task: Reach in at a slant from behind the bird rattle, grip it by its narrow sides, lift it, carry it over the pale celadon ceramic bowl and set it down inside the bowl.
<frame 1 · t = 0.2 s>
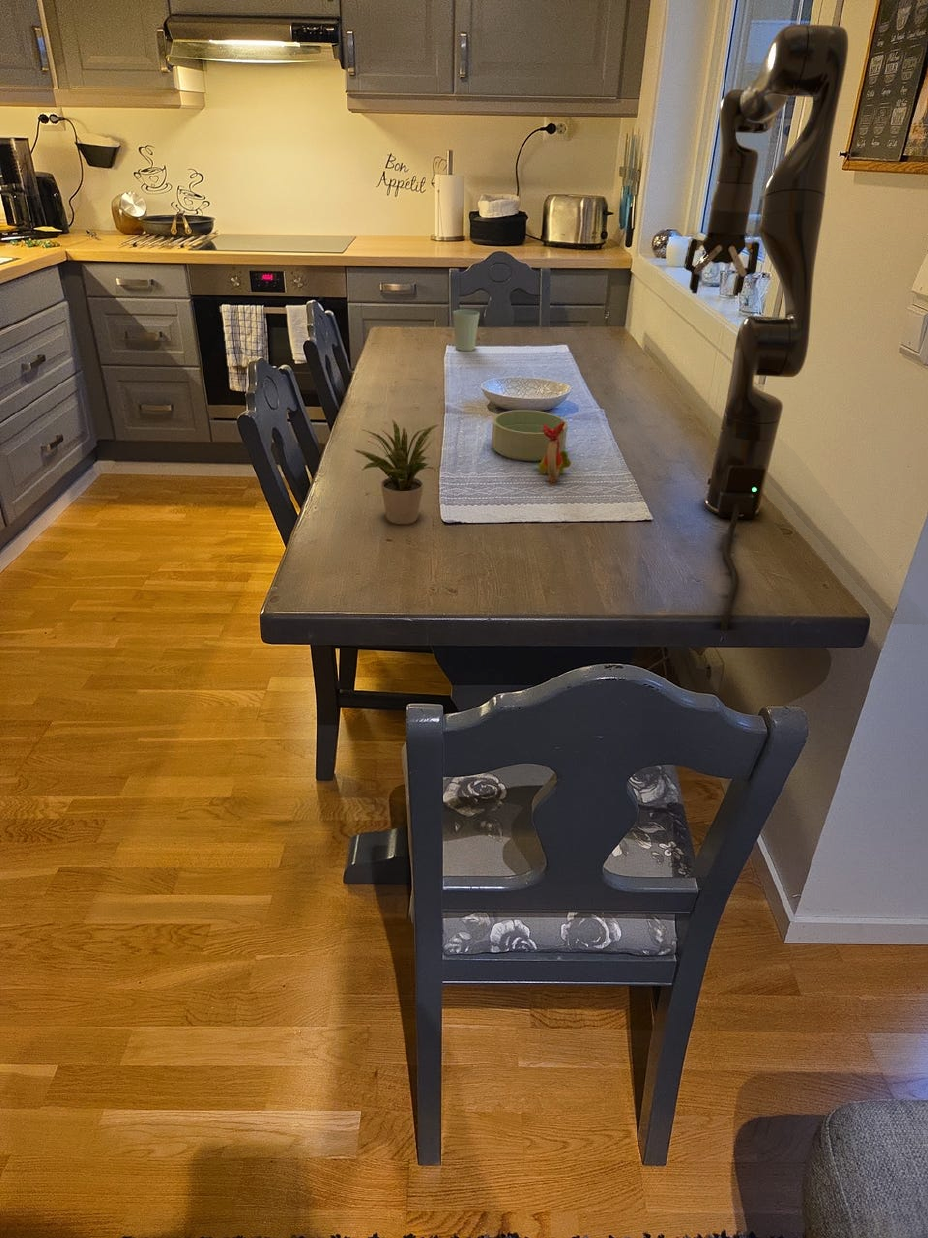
hand: (714, 293, 175), 29 cm above the table, tool pointing down, fingers open, 8 cm apart
cup: (464, 349, 248), on the table
bowl: (527, 449, 174), on the table
bird rattle: (553, 478, 161), on the table
house plant: (404, 515, 143), on the table
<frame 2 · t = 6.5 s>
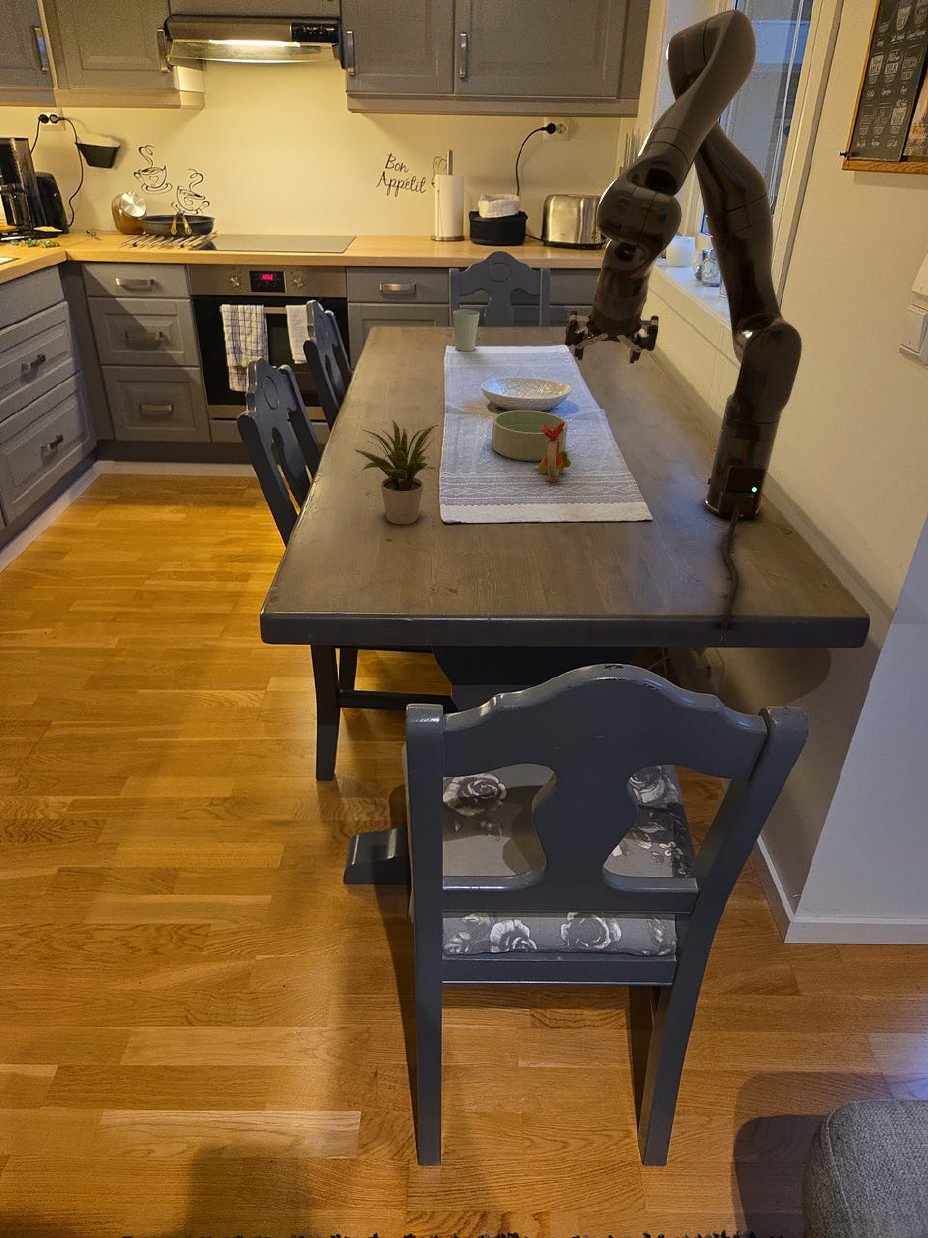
hand: (605, 357, 139), 26 cm above the table, tool tilted 45°, fingers open, 8 cm apart
nothing on the table moved.
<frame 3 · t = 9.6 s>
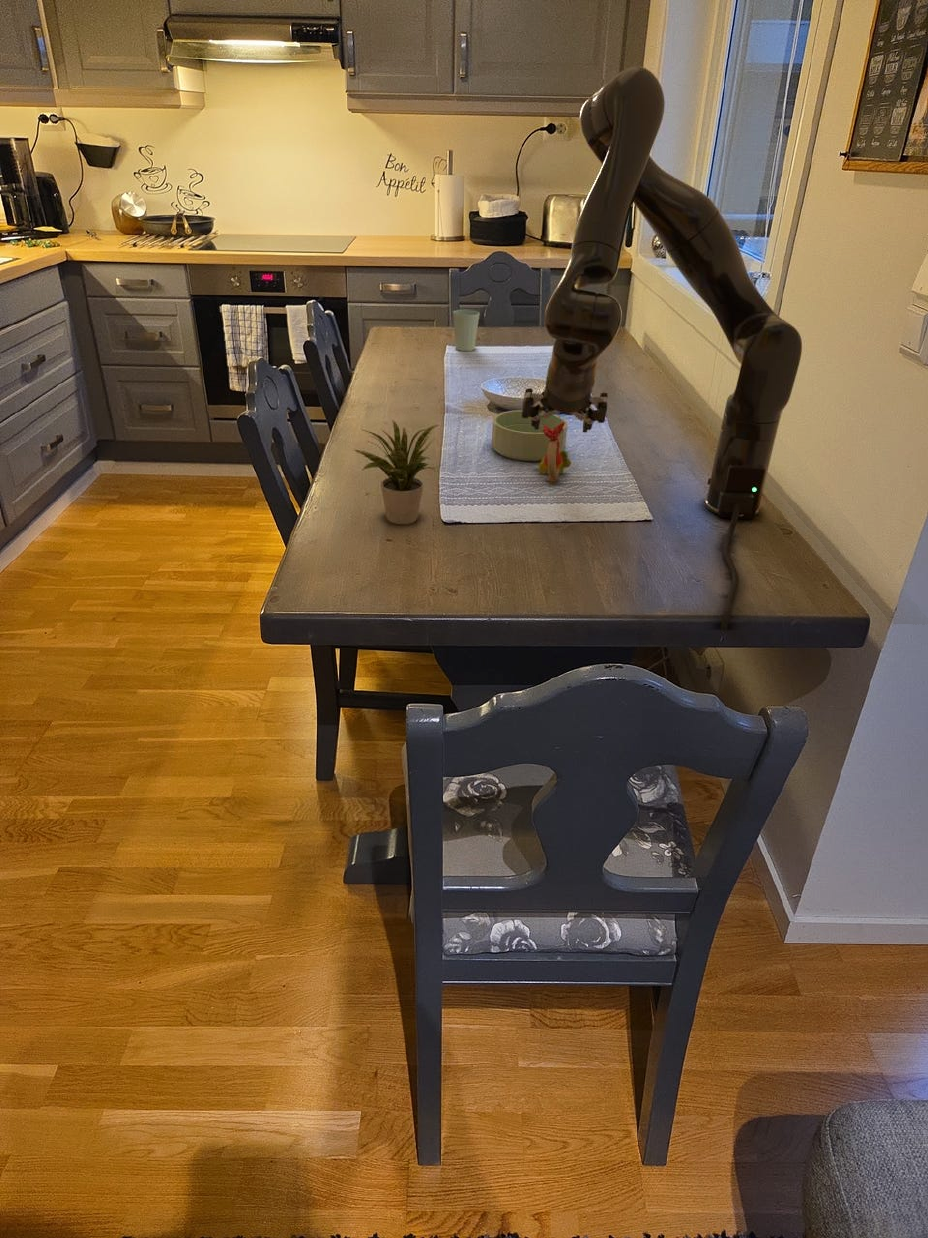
hand: (560, 426, 149), 12 cm above the table, tool tilted 45°, fingers open, 8 cm apart
nothing on the table moved.
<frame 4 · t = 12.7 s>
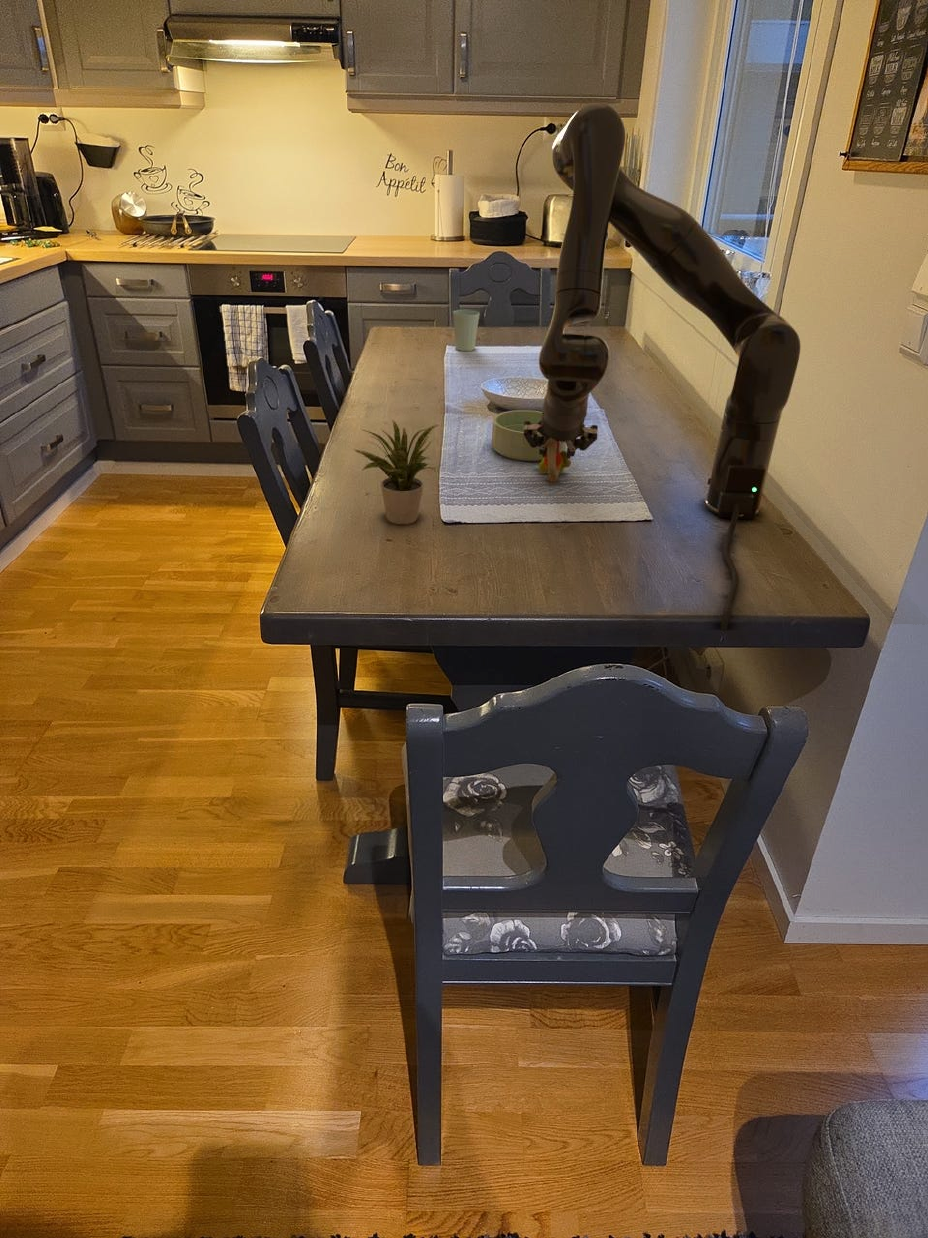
hand: (556, 453, 160), 4 cm above the table, tool tilted 45°, fingers closed on bird rattle, 4 cm apart
bird rattle: (553, 478, 161), on the table, touching gripper
everything else where it was.
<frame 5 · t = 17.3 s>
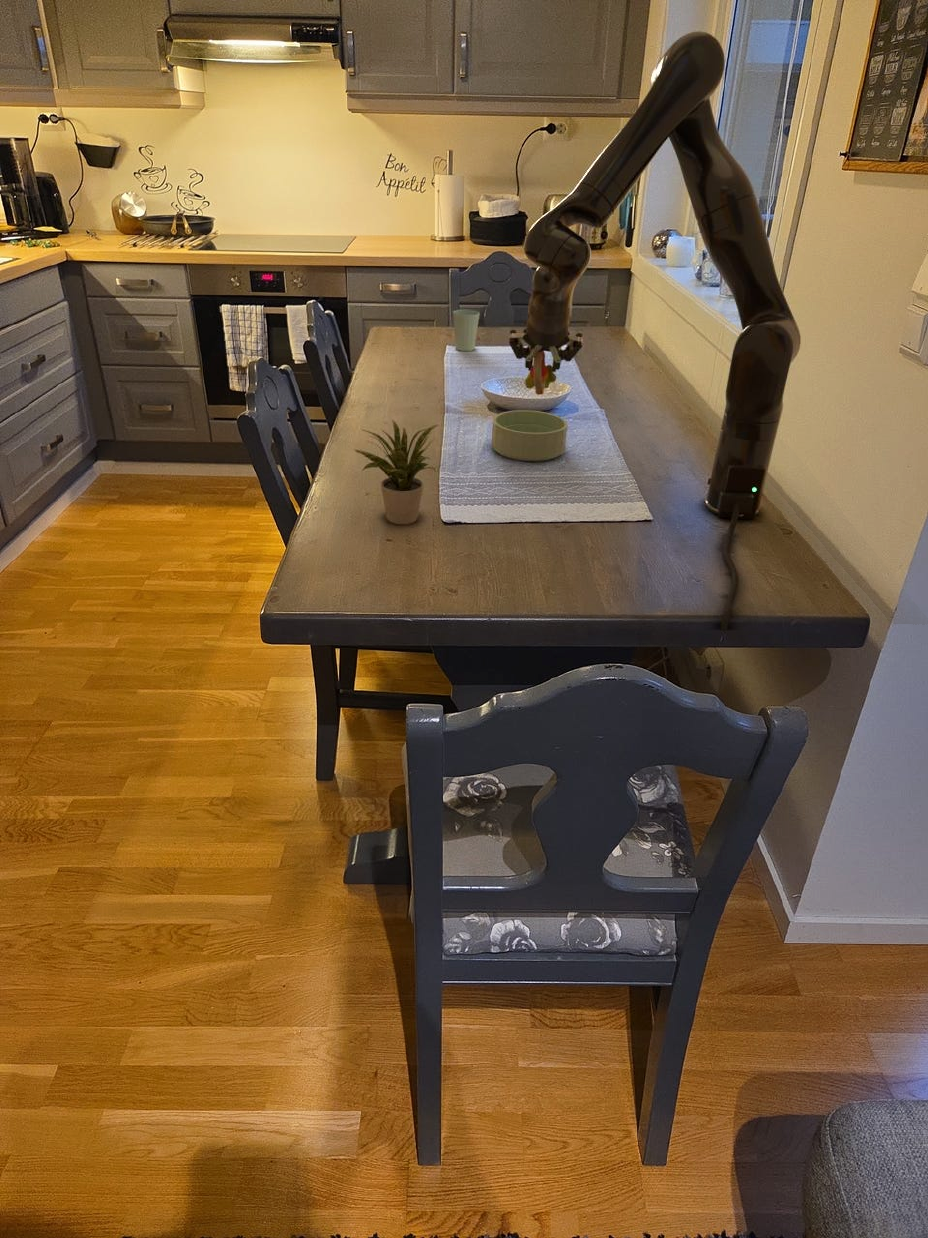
hand: (542, 366, 162), 18 cm above the table, tool tilted 45°, fingers closed on bird rattle, 4 cm apart
bird rattle: (539, 392, 163), point 13 cm above the table, touching gripper
everything else where it was.
when the fingers open (5 cm above the table, at t = 21.9 s): bird rattle stays where it is, resting on bowl.
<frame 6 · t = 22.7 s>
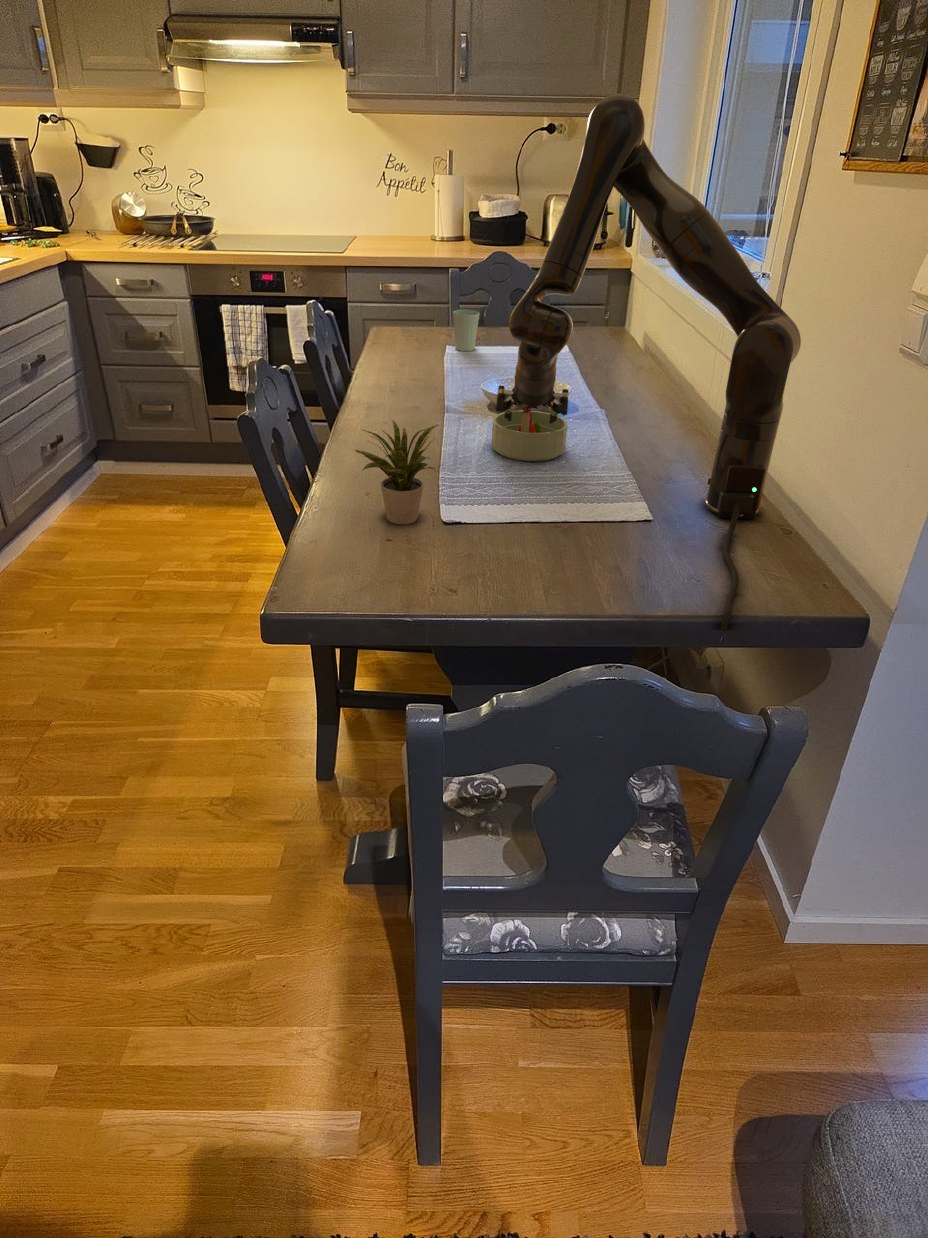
hand: (530, 418, 172), 6 cm above the table, tool tilted 45°, fingers open, 8 cm apart
bird rattle: (527, 447, 174), resting on bowl
everything else where it was.
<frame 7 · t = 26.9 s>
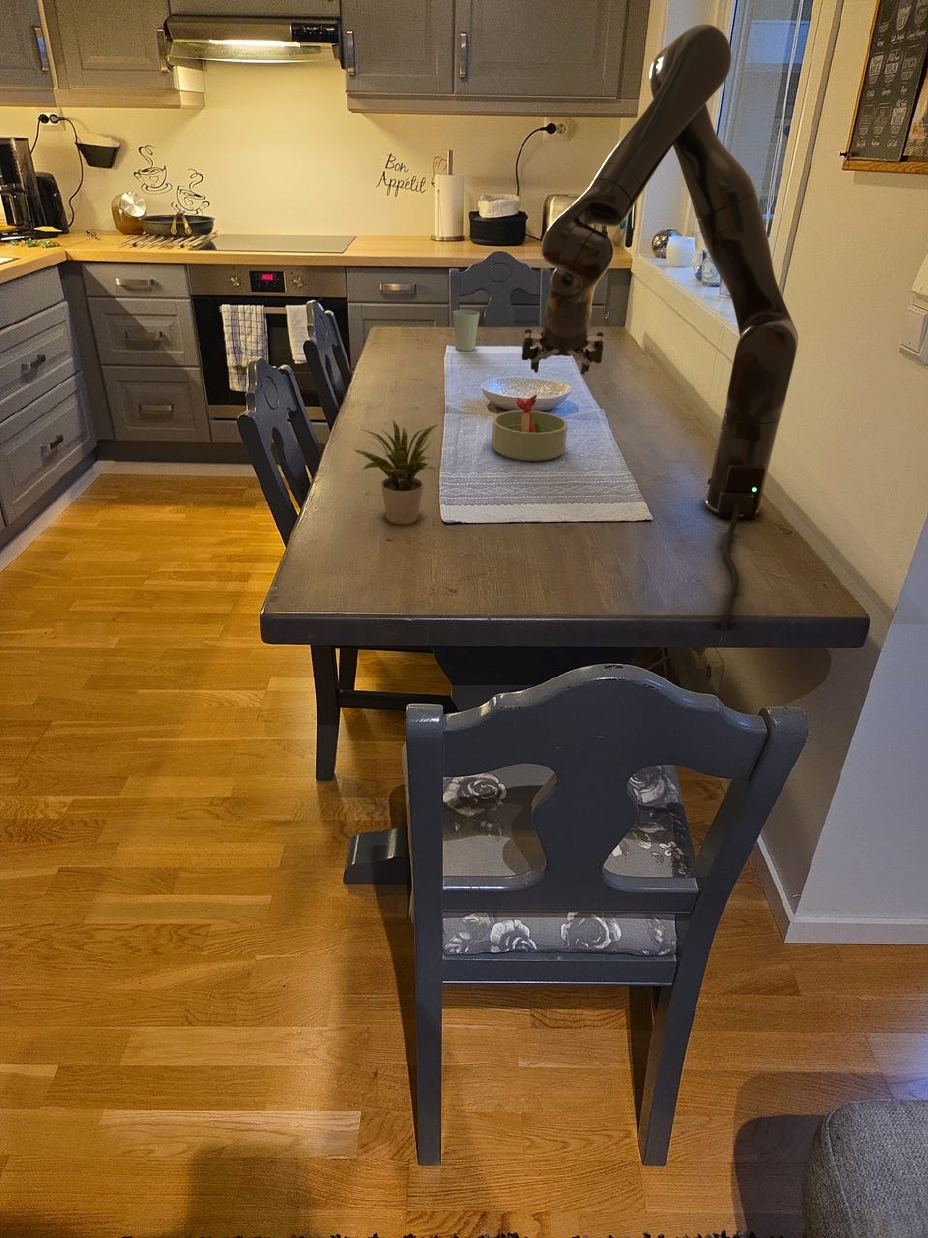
hand: (559, 369, 154), 20 cm above the table, tool tilted 45°, fingers open, 8 cm apart
nothing on the table moved.
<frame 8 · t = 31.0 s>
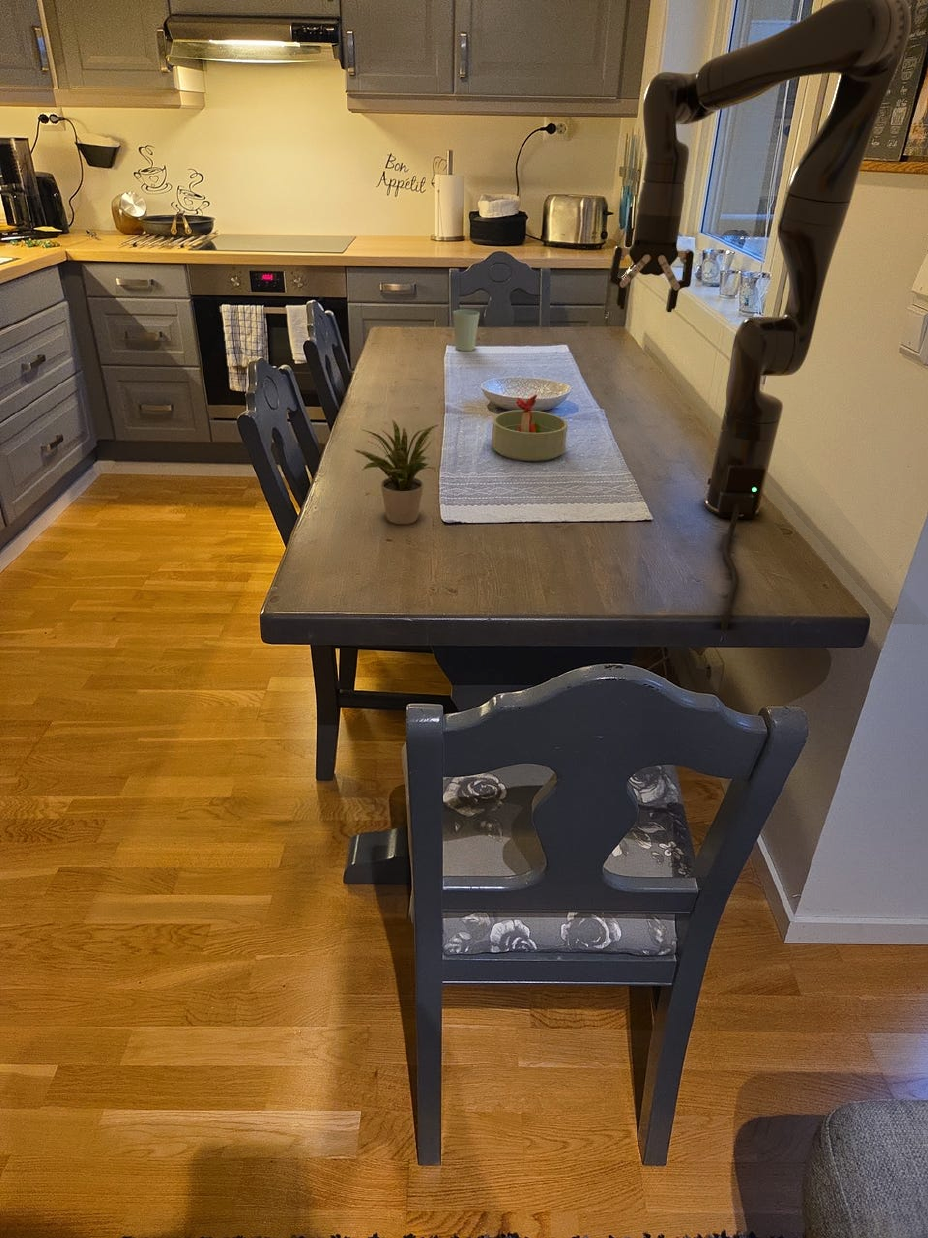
hand: (645, 310, 152), 30 cm above the table, tool pointing down, fingers open, 8 cm apart
nothing on the table moved.
at the end: bird rattle inside the target area in the bowl (0.2 cm from its centre), point 0.4 cm above the bowl's base; the gripper is holding nothing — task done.
